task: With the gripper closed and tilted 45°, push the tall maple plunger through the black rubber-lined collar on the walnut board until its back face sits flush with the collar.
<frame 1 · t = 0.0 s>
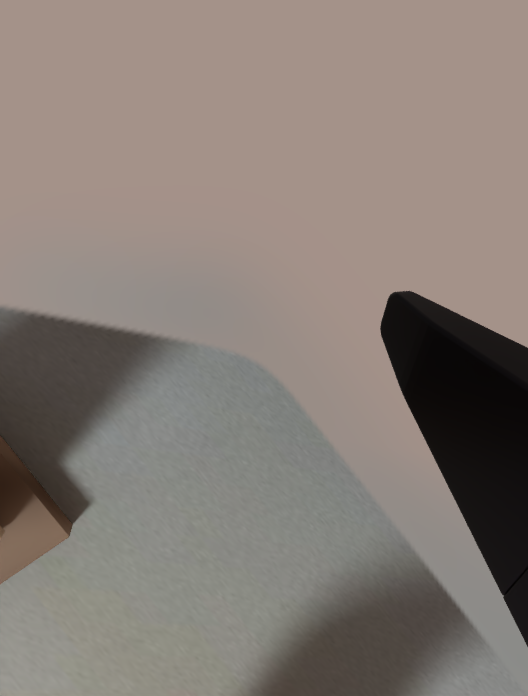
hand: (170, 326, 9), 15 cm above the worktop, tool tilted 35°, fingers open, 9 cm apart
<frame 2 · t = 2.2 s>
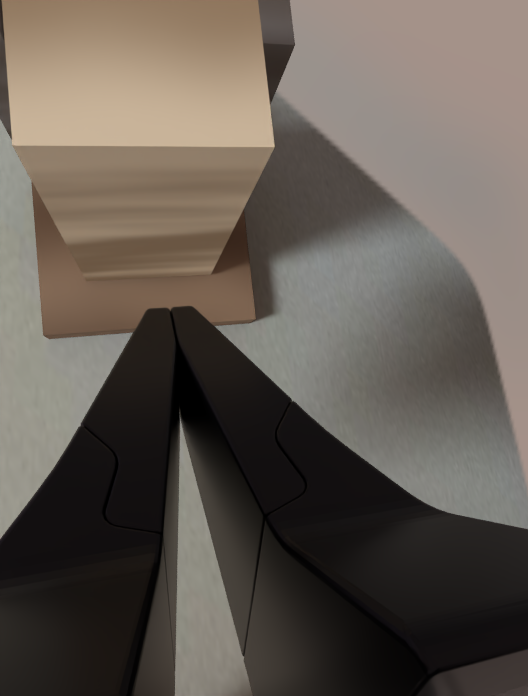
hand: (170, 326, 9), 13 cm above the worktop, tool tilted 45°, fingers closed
band collar: (140, 176, 22), on the worktop
maple plunger: (145, 179, 15), point 7 cm above the worktop, slide at 4.0 cm
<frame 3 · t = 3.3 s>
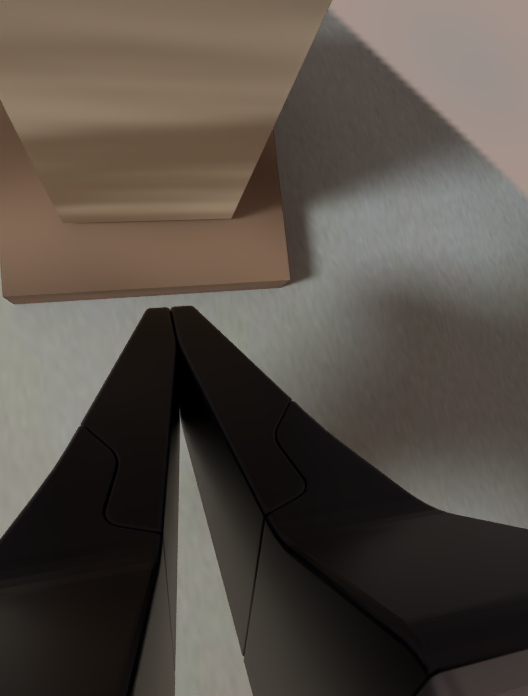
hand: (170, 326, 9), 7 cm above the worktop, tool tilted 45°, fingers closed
band collar: (136, 92, 17), on the worktop
maple plunger: (142, 39, 10), point 7 cm above the worktop, slide at 4.0 cm
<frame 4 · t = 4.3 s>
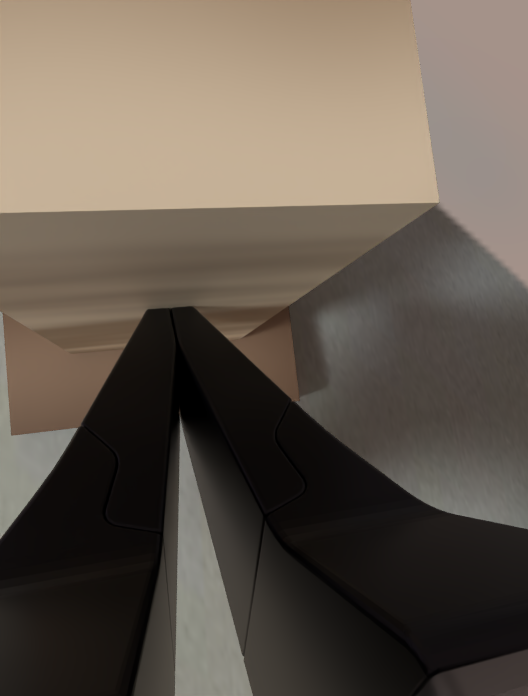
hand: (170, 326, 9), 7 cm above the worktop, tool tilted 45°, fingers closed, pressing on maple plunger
band collar: (144, 208, 17), on the worktop
maple plunger: (155, 228, 10), point 7 cm above the worktop, slide at 3.8 cm, touching gripper
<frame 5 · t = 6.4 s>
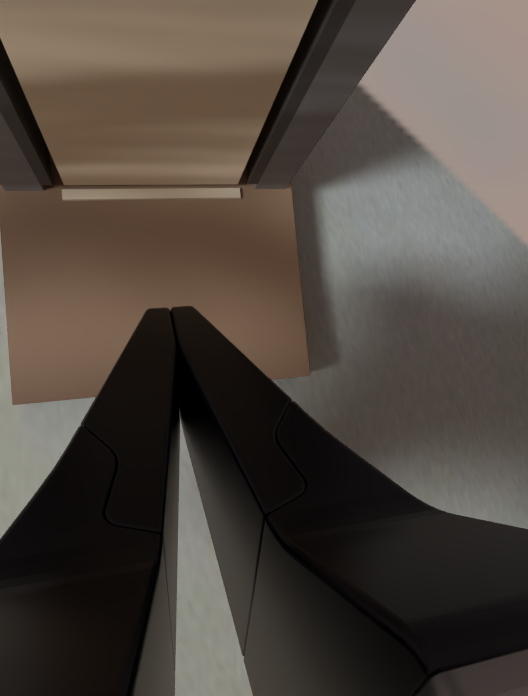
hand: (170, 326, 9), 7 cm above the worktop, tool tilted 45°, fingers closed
band collar: (151, 173, 16), on the worktop
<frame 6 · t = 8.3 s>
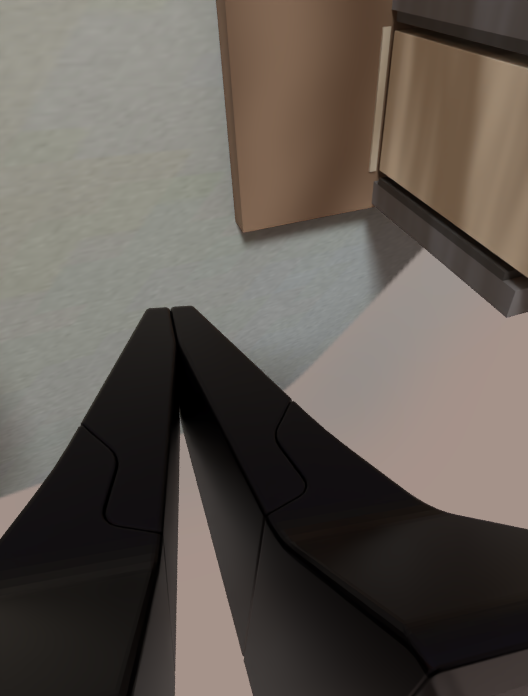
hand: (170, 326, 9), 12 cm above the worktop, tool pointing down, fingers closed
band collar: (389, 93, 20), on the worktop
maple plunger: (522, 143, 16), point 7 cm above the worktop, slide at 0.0 cm
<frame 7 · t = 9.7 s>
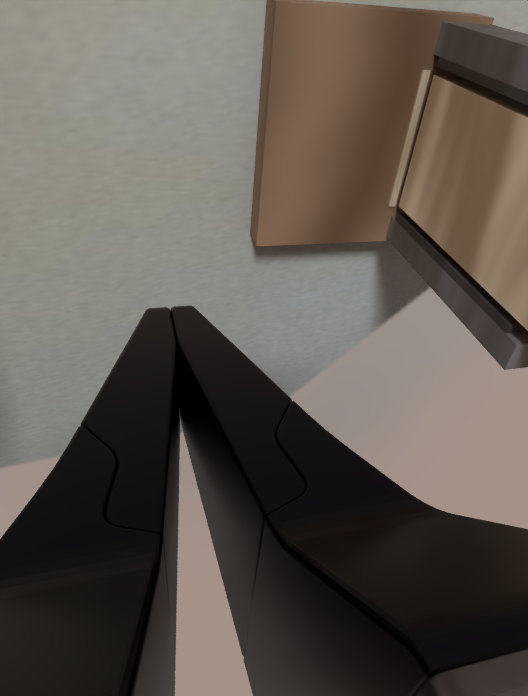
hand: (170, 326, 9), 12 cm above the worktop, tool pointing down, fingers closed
band collar: (418, 134, 21), on the worktop
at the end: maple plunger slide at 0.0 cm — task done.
